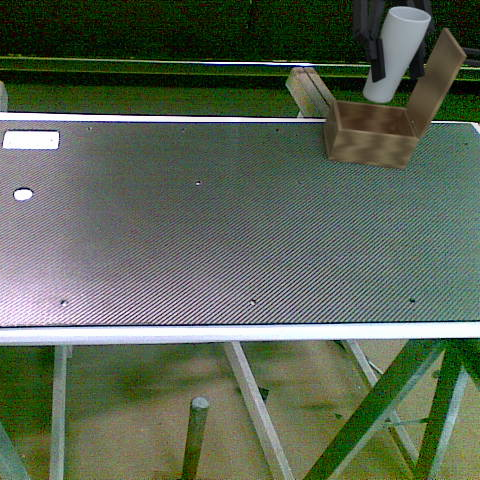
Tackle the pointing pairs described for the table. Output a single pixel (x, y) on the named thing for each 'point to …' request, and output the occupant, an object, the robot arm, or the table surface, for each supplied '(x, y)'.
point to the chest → (369, 134)
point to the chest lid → (437, 80)
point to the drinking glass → (397, 50)
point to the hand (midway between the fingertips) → (398, 78)
